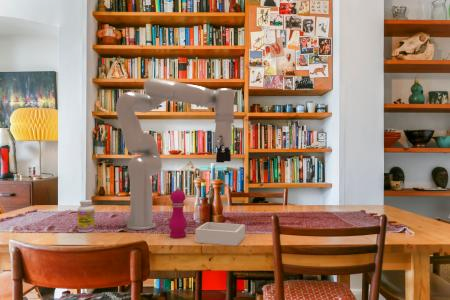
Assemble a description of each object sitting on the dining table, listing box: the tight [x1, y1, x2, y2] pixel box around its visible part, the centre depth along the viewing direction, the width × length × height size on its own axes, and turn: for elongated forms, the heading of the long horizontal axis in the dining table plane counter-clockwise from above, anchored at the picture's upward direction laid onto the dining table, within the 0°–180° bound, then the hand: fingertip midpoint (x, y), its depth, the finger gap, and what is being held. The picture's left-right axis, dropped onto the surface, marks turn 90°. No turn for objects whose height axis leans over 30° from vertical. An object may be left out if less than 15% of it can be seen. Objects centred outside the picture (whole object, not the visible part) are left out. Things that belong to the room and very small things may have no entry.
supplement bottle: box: [77, 199, 95, 233], centre depth 153 cm, size 7×7×13 cm
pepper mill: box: [168, 186, 188, 239], centre depth 145 cm, size 7×7×20 cm
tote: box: [194, 221, 246, 247], centre depth 140 cm, size 16×13×5 cm
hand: (223, 161), depth 147 cm, fingers open, 9 cm apart
